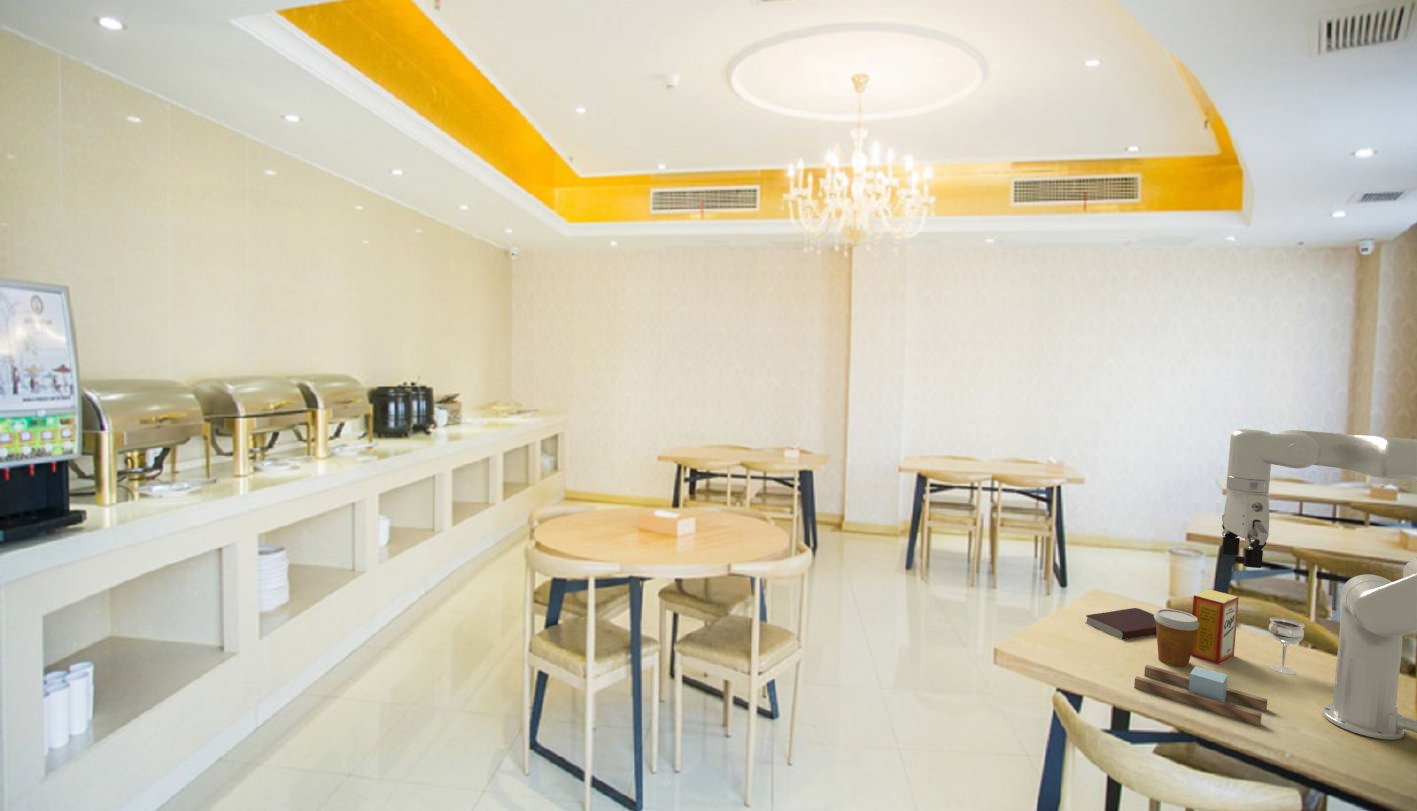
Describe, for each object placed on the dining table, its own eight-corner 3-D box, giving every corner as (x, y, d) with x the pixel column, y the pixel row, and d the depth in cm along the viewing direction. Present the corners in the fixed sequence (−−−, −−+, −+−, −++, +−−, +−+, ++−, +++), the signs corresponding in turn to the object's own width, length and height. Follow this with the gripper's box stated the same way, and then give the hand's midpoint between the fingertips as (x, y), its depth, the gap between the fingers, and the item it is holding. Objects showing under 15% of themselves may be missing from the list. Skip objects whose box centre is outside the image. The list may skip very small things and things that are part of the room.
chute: (1266, 708, 154) (1267, 699, 154) (1259, 726, 146) (1260, 716, 146) (1146, 673, 170) (1146, 664, 170) (1134, 687, 162) (1134, 678, 162)
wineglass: (1302, 678, 169) (1307, 630, 168) (1267, 671, 172) (1271, 623, 171) (1298, 668, 174) (1302, 621, 174) (1263, 661, 178) (1267, 615, 177)
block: (1225, 700, 157) (1227, 674, 156) (1220, 709, 153) (1223, 682, 153) (1193, 691, 161) (1195, 666, 161) (1188, 699, 157) (1190, 673, 157)
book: (1175, 633, 196) (1175, 622, 196) (1122, 641, 190) (1123, 630, 189) (1134, 617, 208) (1135, 607, 208) (1084, 624, 202) (1084, 613, 201)
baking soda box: (1204, 646, 186) (1209, 587, 185) (1233, 655, 181) (1238, 595, 180) (1189, 654, 181) (1193, 594, 180) (1218, 664, 176) (1223, 601, 175)
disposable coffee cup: (1203, 672, 171) (1207, 624, 170) (1160, 667, 173) (1163, 620, 172) (1185, 655, 181) (1189, 610, 180) (1144, 651, 182) (1147, 606, 181)
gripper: (1289, 494, 147) (1282, 574, 149) (1246, 479, 164) (1239, 551, 166) (1248, 491, 149) (1241, 570, 150) (1210, 477, 166) (1204, 548, 167)
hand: (1240, 560), depth 158 cm, fingers open, 9 cm apart
